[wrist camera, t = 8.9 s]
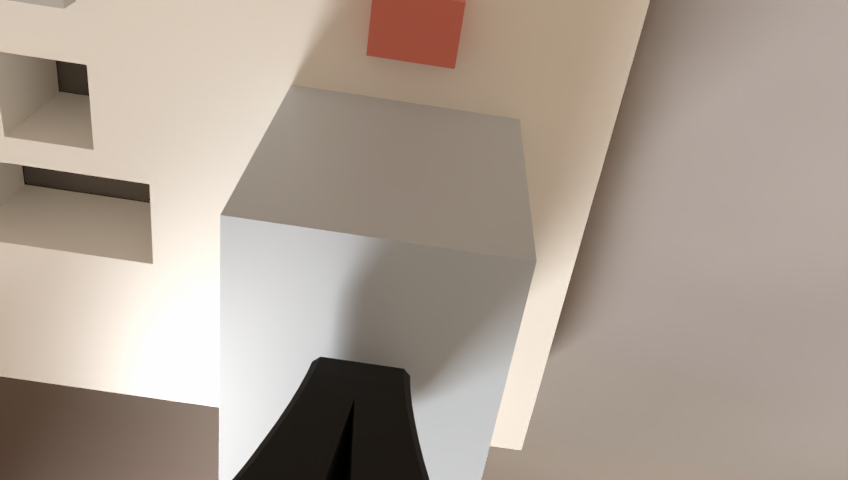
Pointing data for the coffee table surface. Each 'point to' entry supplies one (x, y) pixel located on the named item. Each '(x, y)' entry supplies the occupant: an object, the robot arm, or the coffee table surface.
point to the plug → (376, 266)
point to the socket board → (235, 145)
